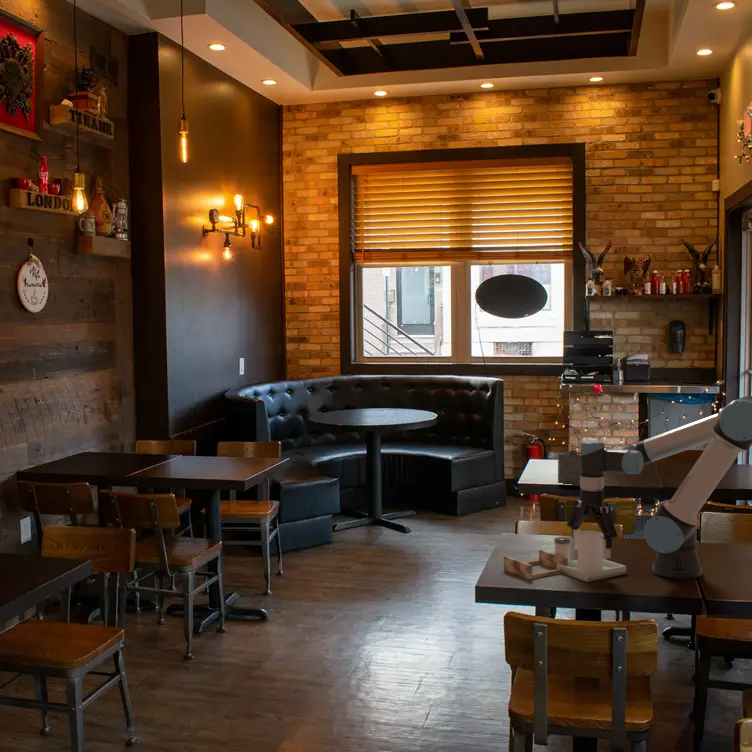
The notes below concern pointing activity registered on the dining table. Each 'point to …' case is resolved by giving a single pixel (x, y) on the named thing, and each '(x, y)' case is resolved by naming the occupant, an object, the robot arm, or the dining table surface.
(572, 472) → the flask
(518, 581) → the dining table surface
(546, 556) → the oak caddy
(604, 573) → the tray
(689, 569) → the robot arm
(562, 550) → the salt jar
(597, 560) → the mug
